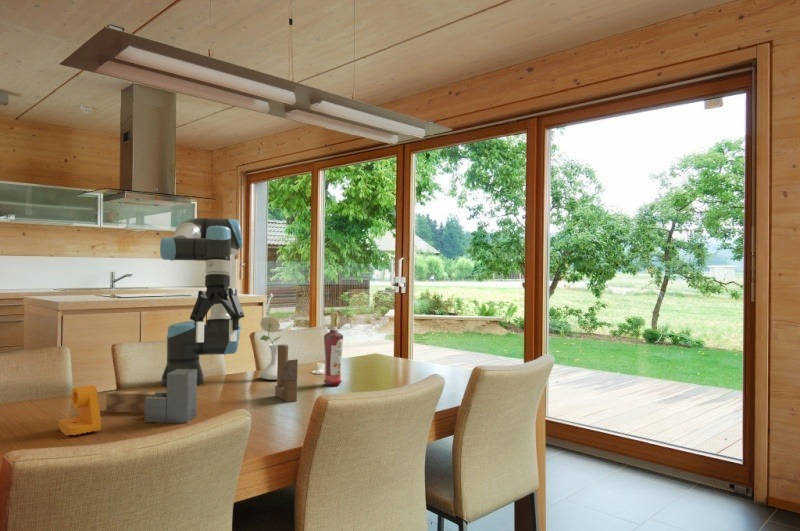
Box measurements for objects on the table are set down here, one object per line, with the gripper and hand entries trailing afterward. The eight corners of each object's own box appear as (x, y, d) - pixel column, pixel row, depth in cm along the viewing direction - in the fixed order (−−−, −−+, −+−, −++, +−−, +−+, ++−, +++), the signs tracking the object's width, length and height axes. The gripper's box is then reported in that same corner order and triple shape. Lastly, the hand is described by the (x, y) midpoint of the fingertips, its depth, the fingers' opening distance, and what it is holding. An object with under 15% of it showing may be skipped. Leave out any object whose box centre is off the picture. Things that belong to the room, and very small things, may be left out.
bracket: (56, 430, 155) (57, 386, 155) (85, 424, 161) (86, 382, 161) (71, 438, 148) (72, 392, 148) (101, 432, 154) (101, 388, 154)
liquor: (334, 387, 214) (335, 313, 214) (319, 385, 218) (320, 312, 218) (346, 384, 221) (347, 312, 221) (331, 382, 225) (332, 310, 224)
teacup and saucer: (320, 376, 238) (320, 366, 238) (306, 373, 243) (306, 364, 243) (334, 372, 246) (334, 363, 246) (320, 370, 250) (320, 361, 250)
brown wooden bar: (106, 413, 174) (106, 393, 174) (111, 410, 178) (112, 390, 178) (171, 414, 174) (172, 394, 174) (176, 411, 178) (176, 392, 178)
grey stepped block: (156, 414, 172) (157, 368, 172) (196, 415, 173) (197, 369, 173) (144, 422, 164) (145, 374, 164) (186, 423, 164) (187, 374, 164)
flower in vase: (294, 377, 231) (295, 316, 231) (276, 383, 221) (278, 318, 221) (268, 374, 237) (269, 314, 237) (249, 379, 226) (251, 316, 226)
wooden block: (287, 402, 191) (288, 348, 191) (274, 396, 199) (275, 344, 199) (297, 401, 193) (298, 348, 193) (284, 394, 202) (285, 343, 202)
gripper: (179, 276, 184) (177, 342, 181) (240, 270, 173) (238, 340, 170) (197, 278, 190) (195, 342, 187) (256, 272, 180) (255, 340, 177)
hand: (216, 342), depth 179 cm, fingers open, 13 cm apart
